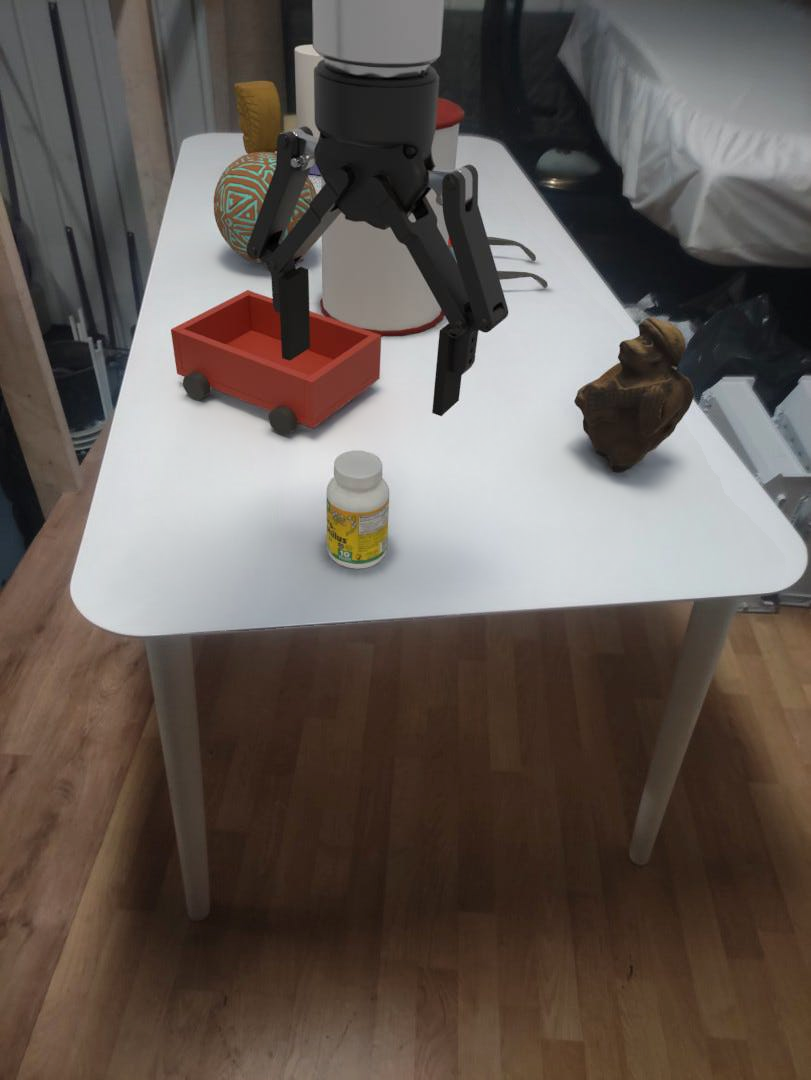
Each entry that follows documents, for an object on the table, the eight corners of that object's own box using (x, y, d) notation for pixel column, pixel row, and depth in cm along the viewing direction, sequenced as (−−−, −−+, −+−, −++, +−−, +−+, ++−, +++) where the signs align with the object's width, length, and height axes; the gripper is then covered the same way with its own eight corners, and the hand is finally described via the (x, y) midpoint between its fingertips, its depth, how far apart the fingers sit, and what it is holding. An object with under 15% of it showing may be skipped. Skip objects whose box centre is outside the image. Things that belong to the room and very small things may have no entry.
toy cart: (171, 390, 92) (162, 333, 87) (257, 339, 102) (253, 286, 98) (306, 445, 85) (305, 387, 80) (384, 385, 95) (387, 330, 91)
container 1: (354, 163, 160) (356, 46, 147) (342, 178, 152) (343, 57, 139) (305, 158, 161) (303, 41, 148) (291, 172, 153) (287, 51, 140)
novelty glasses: (439, 254, 127) (442, 222, 124) (533, 257, 128) (538, 226, 125) (448, 292, 116) (451, 258, 113) (549, 295, 117) (555, 261, 114)
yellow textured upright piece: (269, 167, 155) (265, 79, 145) (288, 176, 151) (285, 87, 141) (237, 172, 151) (231, 82, 141) (256, 182, 148) (251, 90, 138)
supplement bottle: (396, 560, 72) (402, 473, 66) (342, 578, 70) (344, 490, 64) (369, 525, 76) (372, 439, 69) (316, 541, 74) (315, 454, 67)
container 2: (397, 272, 120) (407, 84, 104) (470, 318, 110) (494, 117, 94) (296, 296, 112) (290, 95, 96) (365, 347, 102) (371, 133, 86)
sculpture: (536, 414, 86) (625, 291, 79) (604, 447, 91) (693, 334, 85) (582, 470, 78) (685, 337, 72) (653, 501, 84) (754, 382, 77)
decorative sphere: (309, 239, 128) (307, 137, 119) (328, 278, 118) (328, 169, 108) (213, 243, 125) (203, 139, 115) (224, 284, 114) (214, 172, 104)
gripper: (597, 87, 46) (536, 409, 60) (252, 24, 55) (269, 316, 69) (544, 112, 41) (491, 456, 55) (174, 37, 50) (209, 350, 64)
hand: (368, 379), depth 62 cm, fingers open, 13 cm apart
